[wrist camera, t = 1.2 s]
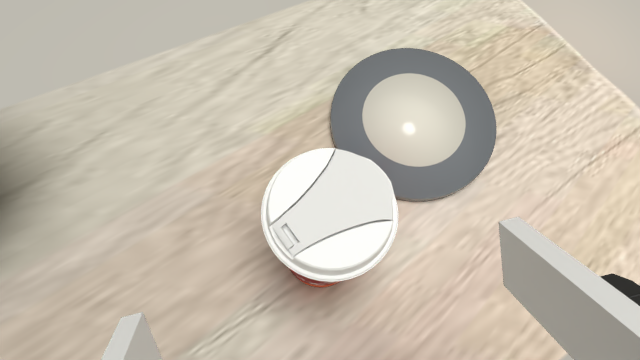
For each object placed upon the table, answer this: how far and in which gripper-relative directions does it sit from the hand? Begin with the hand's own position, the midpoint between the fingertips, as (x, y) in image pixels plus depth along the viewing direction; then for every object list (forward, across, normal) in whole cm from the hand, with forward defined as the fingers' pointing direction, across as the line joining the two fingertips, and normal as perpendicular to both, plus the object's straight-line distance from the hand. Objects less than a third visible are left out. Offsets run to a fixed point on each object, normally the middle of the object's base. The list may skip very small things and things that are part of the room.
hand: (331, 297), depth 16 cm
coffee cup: (+22, 0, -10) cm, 24 cm away
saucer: (+28, +12, -2) cm, 31 cm away
